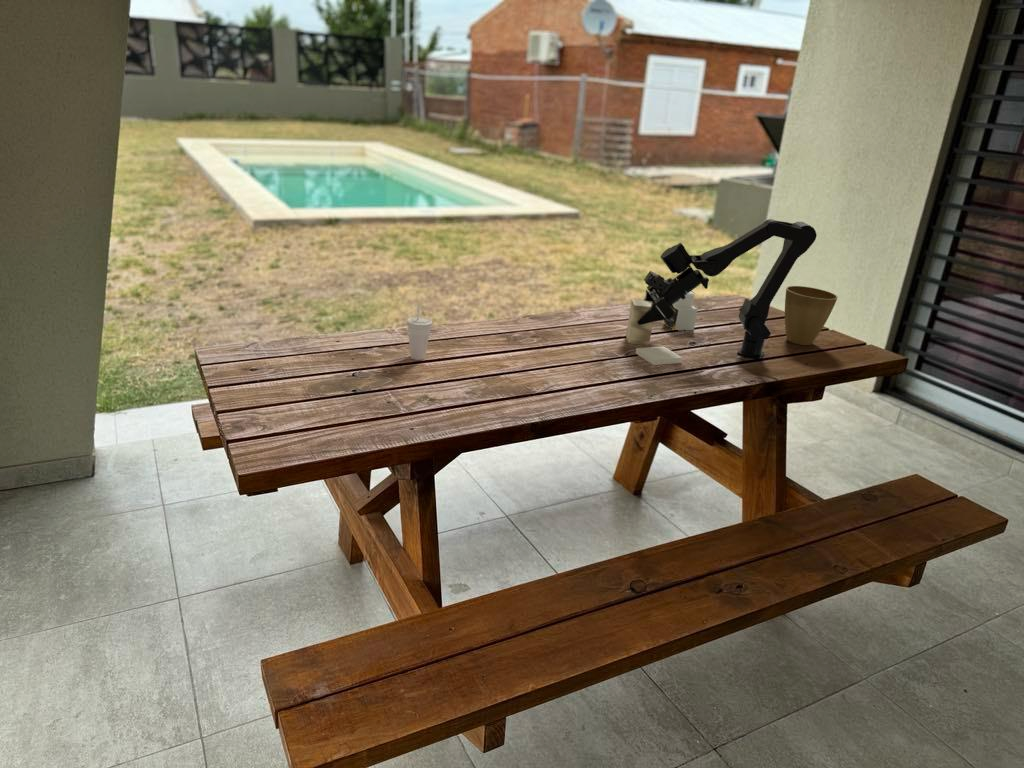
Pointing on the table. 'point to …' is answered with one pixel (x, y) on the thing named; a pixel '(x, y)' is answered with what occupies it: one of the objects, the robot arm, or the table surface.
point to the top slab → (658, 355)
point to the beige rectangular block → (634, 330)
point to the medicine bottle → (683, 314)
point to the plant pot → (806, 313)
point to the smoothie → (418, 335)
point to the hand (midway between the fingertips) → (636, 319)
